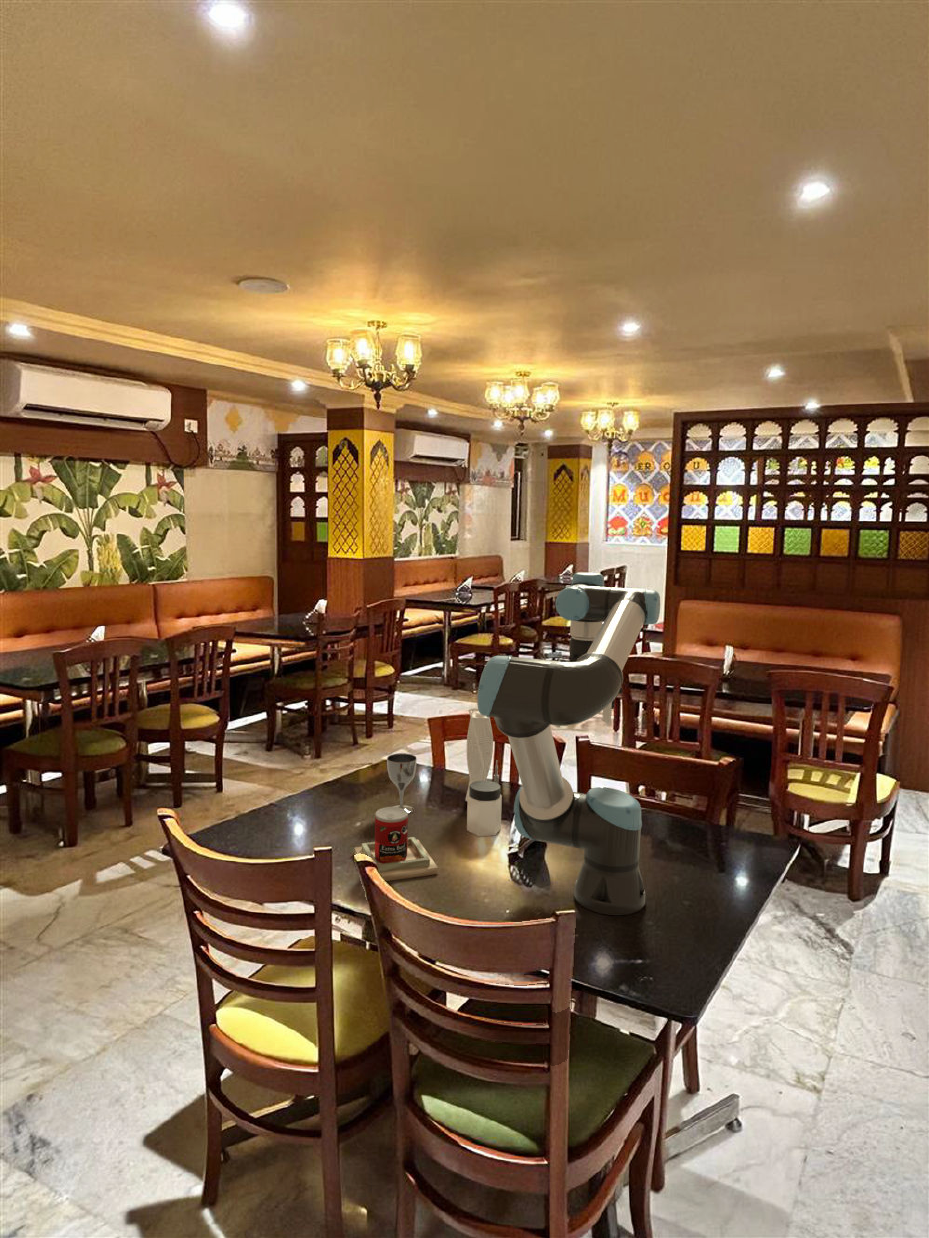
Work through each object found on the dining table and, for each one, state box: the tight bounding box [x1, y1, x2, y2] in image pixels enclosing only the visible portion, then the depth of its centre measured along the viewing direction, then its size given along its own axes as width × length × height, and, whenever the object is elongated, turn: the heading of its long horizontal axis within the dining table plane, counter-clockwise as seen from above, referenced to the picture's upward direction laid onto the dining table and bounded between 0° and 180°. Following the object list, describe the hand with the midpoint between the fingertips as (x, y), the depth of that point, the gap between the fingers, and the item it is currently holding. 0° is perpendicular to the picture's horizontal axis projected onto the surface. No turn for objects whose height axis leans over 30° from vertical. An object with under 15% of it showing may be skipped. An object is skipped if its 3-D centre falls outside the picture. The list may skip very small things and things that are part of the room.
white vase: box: [465, 708, 500, 803], centre depth 227 cm, size 8×8×28 cm
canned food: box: [374, 806, 409, 864], centre depth 188 cm, size 8×8×11 cm
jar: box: [466, 780, 503, 837], centre depth 209 cm, size 9×8×12 cm
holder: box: [353, 836, 439, 882], centre depth 189 cm, size 16×16×3 cm
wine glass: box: [386, 752, 417, 815], centre depth 220 cm, size 8×8×15 cm
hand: (581, 724), depth 195 cm, fingers open, 13 cm apart
